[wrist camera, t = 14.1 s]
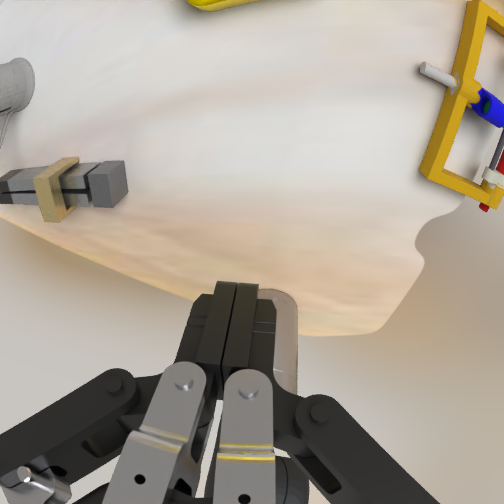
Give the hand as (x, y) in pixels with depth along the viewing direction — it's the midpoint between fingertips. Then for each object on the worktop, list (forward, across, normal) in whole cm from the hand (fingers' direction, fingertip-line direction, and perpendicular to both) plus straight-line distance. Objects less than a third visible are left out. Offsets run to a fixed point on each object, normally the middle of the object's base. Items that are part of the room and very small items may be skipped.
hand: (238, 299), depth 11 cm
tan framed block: (+26, +28, +6) cm, 39 cm away
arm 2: (+26, +32, +7) cm, 42 cm away
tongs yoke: (+27, +20, +6) cm, 34 cm away
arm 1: (+26, +32, +5) cm, 42 cm away
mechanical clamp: (+27, -26, -10) cm, 39 cm away
